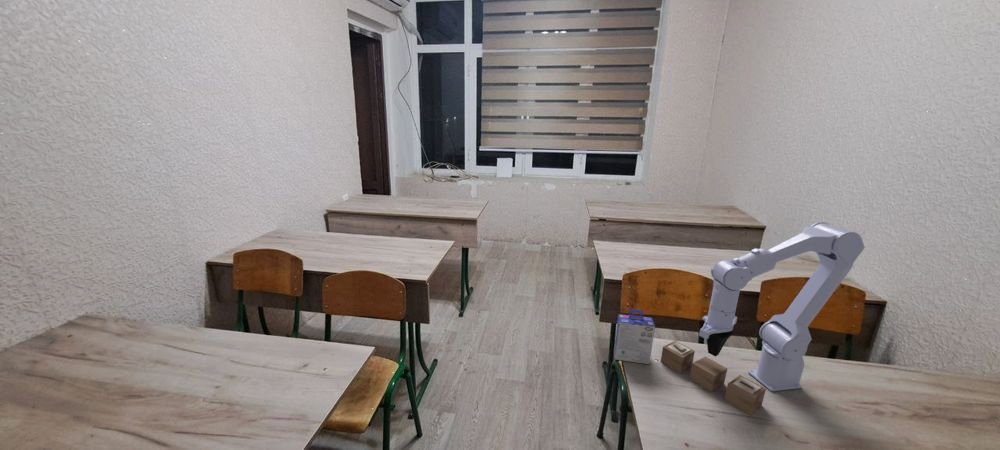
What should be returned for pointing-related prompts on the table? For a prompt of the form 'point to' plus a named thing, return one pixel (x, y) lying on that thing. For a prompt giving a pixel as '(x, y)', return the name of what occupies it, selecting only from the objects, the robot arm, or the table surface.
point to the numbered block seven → (677, 356)
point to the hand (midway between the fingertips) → (713, 353)
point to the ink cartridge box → (634, 338)
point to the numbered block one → (745, 394)
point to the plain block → (708, 373)
